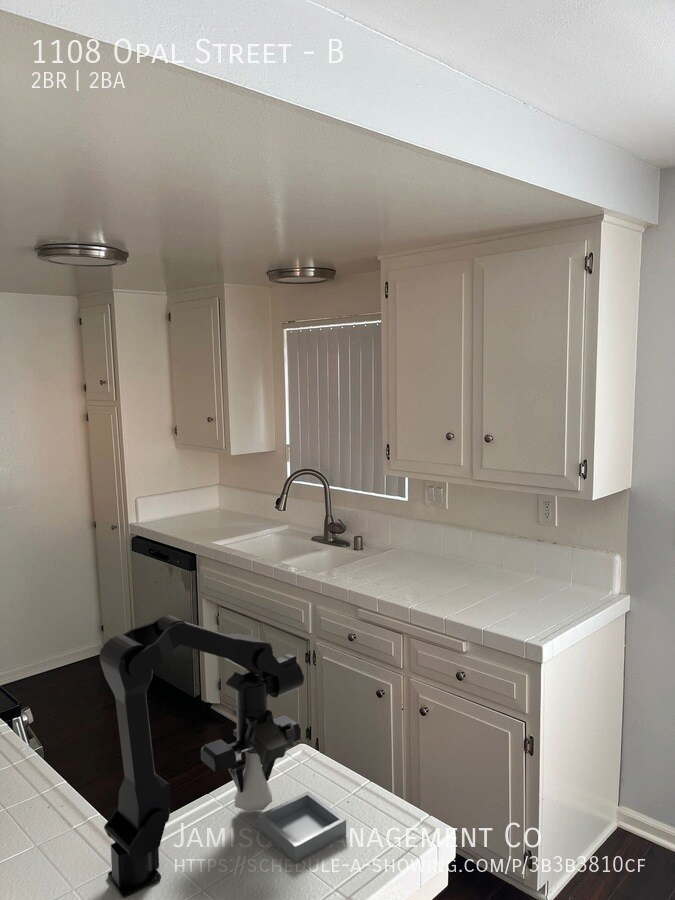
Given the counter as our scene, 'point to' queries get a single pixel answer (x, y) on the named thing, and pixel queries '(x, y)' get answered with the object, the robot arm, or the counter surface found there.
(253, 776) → the flask
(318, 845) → the box
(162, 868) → the counter surface
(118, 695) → the robot arm
